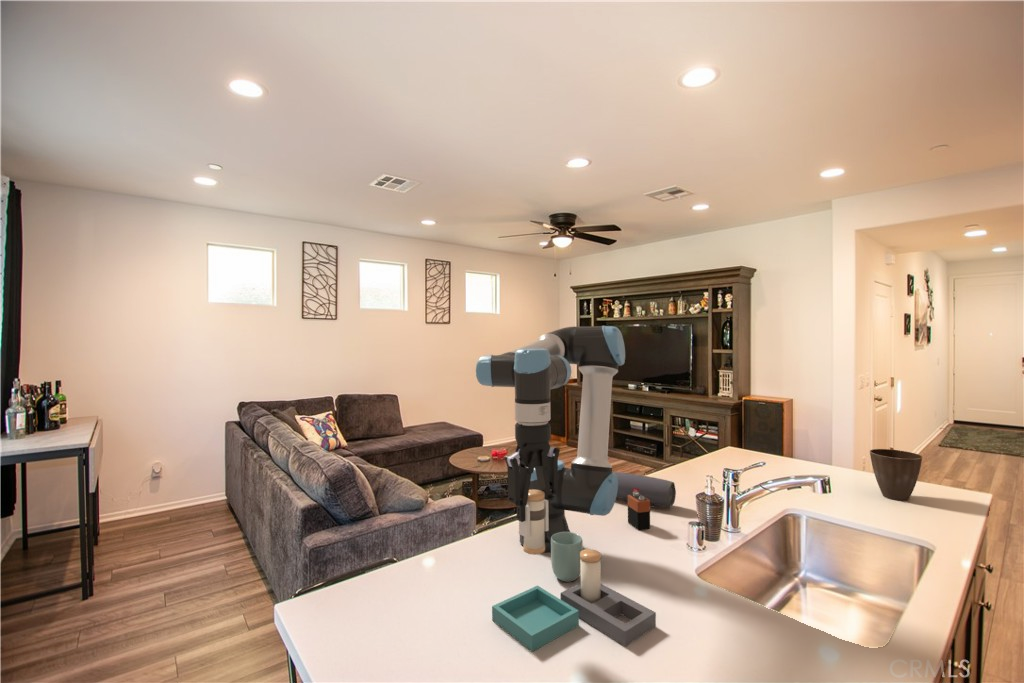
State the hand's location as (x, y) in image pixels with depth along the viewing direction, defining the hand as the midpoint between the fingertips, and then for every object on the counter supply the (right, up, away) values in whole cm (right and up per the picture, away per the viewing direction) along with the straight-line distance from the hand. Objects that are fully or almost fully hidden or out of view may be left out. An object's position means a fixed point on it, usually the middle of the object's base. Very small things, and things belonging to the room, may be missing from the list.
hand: (533, 532), depth 101 cm
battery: (+36, -18, +50) cm, 64 cm away
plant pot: (+135, -17, +73) cm, 154 cm away
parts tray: (0, -19, 0) cm, 19 cm away
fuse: (+13, -19, +6) cm, 24 cm away
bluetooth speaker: (+41, -18, +70) cm, 83 cm away
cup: (+9, -19, +19) cm, 29 cm away
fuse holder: (+16, -19, +3) cm, 25 cm away
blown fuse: (0, -4, 0) cm, 4 cm away
